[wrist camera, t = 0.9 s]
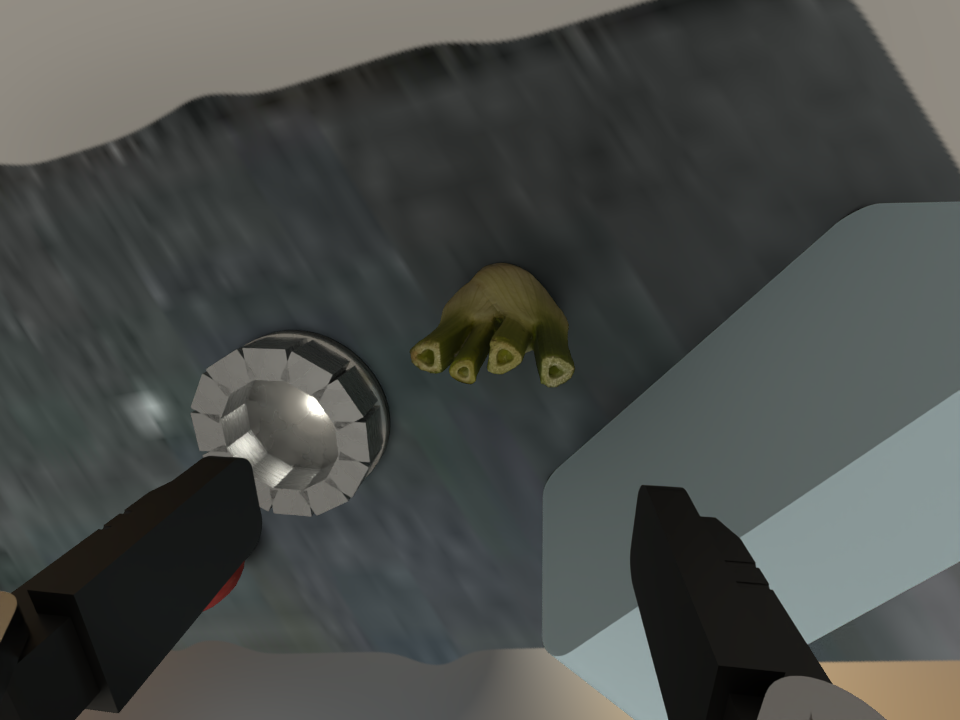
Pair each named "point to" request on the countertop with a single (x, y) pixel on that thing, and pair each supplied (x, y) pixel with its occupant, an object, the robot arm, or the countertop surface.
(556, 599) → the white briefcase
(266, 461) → the white low ring
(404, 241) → the countertop surface
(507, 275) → the fennel bulb
